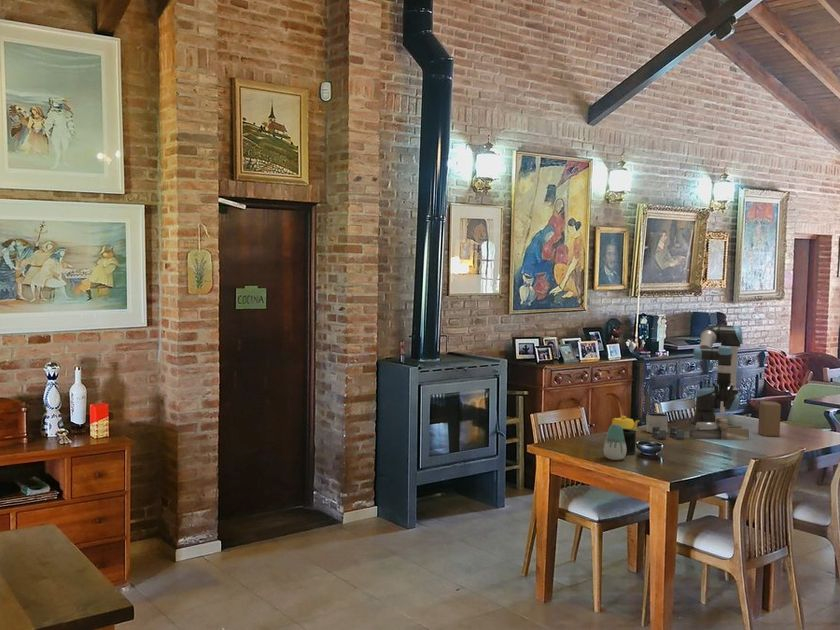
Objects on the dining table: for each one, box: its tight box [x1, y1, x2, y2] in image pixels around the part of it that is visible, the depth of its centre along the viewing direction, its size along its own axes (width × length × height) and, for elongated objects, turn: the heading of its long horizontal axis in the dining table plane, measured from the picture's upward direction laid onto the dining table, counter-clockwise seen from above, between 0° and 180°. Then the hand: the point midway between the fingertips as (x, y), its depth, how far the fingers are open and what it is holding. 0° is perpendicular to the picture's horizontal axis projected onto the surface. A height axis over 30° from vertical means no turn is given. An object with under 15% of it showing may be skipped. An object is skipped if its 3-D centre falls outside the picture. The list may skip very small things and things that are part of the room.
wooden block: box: [757, 400, 782, 438], centre depth 492 cm, size 10×10×20 cm
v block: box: [651, 426, 685, 441], centre depth 476 cm, size 11×15×6 cm
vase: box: [603, 423, 627, 461], centre depth 417 cm, size 12×12×18 cm
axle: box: [695, 421, 730, 431], centre depth 479 cm, size 18×5×5 cm, turn 96°
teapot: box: [611, 415, 640, 431], centre depth 473 cm, size 14×20×13 cm
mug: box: [623, 429, 638, 455], centre depth 434 cm, size 11×15×12 cm
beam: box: [688, 416, 750, 441], centre depth 479 cm, size 9×35×12 cm, turn 96°
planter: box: [645, 412, 669, 434], centre depth 493 cm, size 13×13×11 cm
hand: (722, 412), depth 478 cm, fingers closed
